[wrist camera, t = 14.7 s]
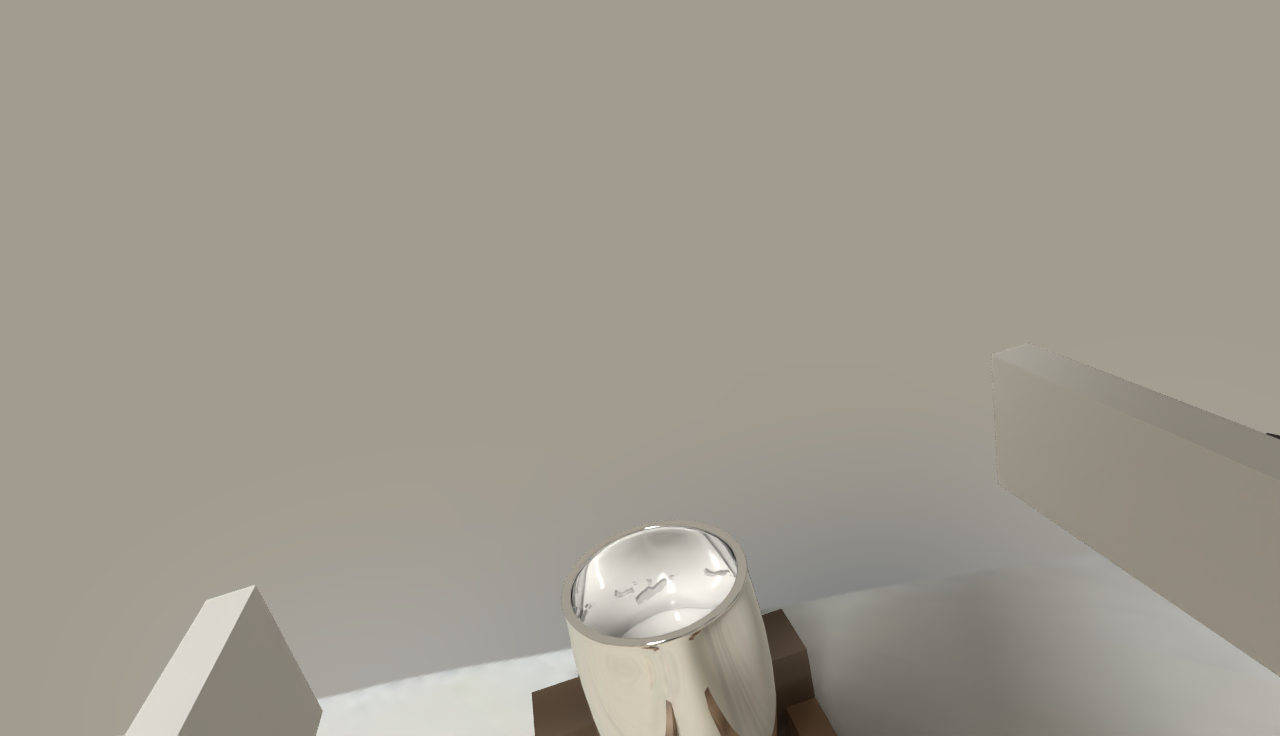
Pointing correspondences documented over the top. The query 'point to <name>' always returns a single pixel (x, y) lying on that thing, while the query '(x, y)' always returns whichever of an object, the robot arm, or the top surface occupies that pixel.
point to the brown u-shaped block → (799, 716)
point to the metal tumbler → (670, 634)
